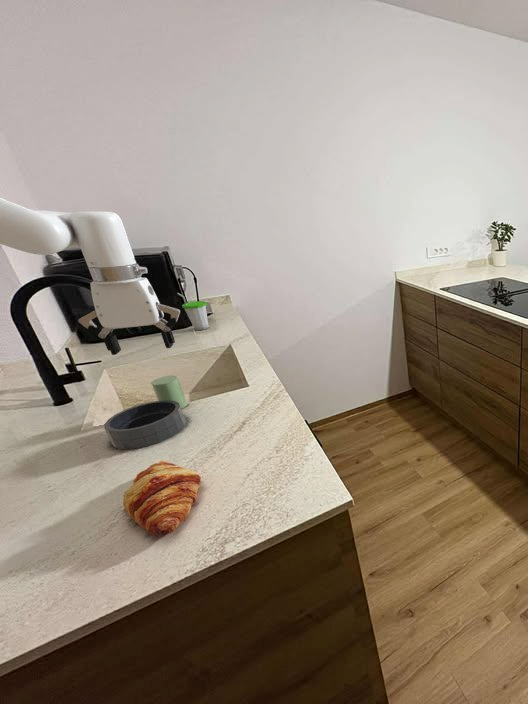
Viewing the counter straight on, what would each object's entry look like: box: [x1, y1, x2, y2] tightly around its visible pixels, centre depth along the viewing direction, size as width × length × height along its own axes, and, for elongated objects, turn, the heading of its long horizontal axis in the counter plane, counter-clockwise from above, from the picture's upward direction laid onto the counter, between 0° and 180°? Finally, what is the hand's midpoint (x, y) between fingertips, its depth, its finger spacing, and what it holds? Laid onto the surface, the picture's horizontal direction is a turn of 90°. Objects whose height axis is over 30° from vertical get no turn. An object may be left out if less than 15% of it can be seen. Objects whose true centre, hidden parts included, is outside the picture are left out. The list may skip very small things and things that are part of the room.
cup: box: [176, 292, 210, 331], centre depth 147 cm, size 8×8×15 cm
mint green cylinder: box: [150, 375, 188, 410], centre depth 91 cm, size 5×5×8 cm
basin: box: [103, 400, 187, 450], centre depth 82 cm, size 13×13×5 cm
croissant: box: [122, 460, 201, 536], centre depth 63 cm, size 21×10×8 cm, turn 42°
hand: (144, 349), depth 86 cm, fingers open, 9 cm apart
